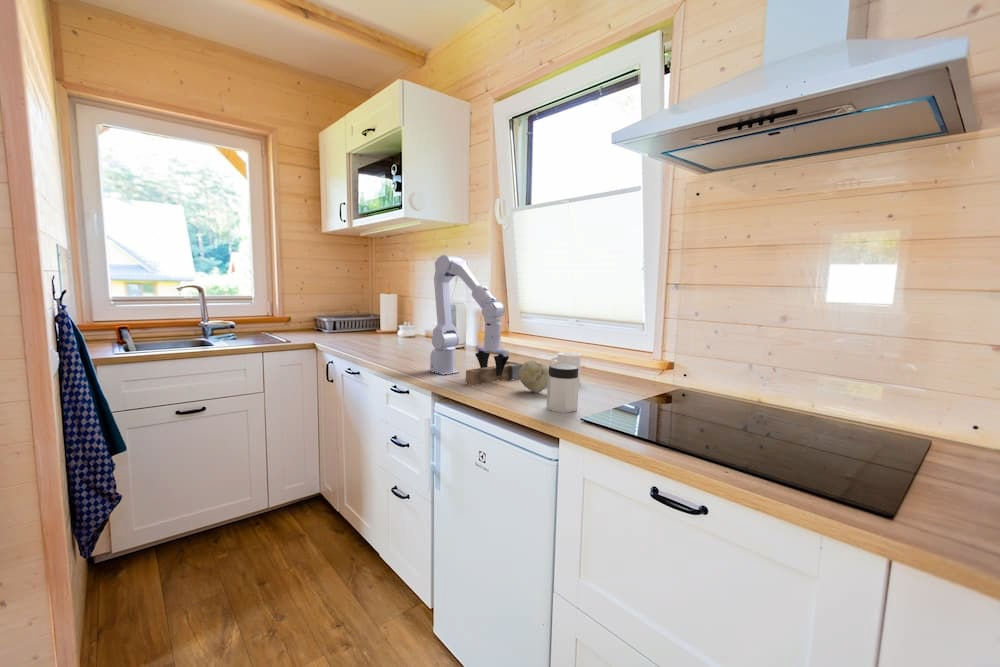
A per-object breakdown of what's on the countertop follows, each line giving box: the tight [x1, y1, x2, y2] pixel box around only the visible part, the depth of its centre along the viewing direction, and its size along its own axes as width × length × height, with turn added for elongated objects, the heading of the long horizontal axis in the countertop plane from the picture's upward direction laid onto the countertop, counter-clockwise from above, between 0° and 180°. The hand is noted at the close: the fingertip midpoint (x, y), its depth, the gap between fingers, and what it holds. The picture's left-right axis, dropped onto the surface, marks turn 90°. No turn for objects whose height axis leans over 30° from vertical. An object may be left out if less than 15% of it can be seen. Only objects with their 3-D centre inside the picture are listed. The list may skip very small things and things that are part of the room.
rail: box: [465, 363, 516, 386], centre depth 157 cm, size 22×4×5 cm, turn 136°
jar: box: [546, 363, 580, 414], centre depth 123 cm, size 9×8×12 cm
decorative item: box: [518, 360, 550, 394], centre depth 142 cm, size 12×9×10 cm
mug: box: [549, 351, 582, 382], centre depth 159 cm, size 12×8×10 cm
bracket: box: [506, 360, 524, 380], centre depth 164 cm, size 10×7×5 cm
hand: (491, 373), depth 157 cm, fingers open, 7 cm apart
